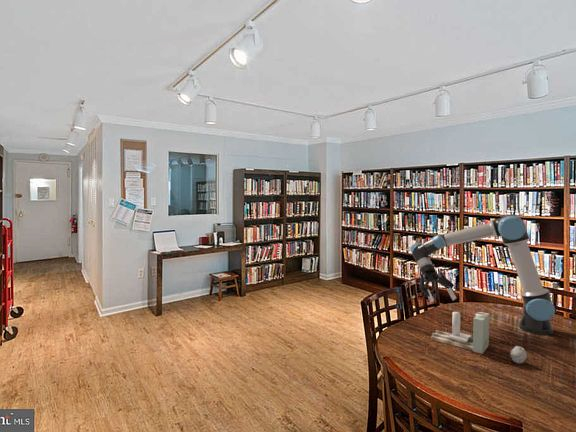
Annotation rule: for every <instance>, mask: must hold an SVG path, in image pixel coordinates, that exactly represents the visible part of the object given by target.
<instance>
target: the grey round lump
mask: <svg viewBox="0 0 576 432" xmlns="http://www.w3.org/2000/svg"><path fill="white" fill-rule="evenodd" d="M509 355H510V358H511V359H512V361H513V362H514V363H516V364H518V365H519V364H523V363H524V362H525V361H526V359H527V358H528V354H527V351H526V350H525V347H524V348H523V347H522V346H518V345H515V346H514V347H513V348H512V349H511V351H510V353H509Z"/></svg>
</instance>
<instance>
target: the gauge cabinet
mask: <svg viewBox="0 0 576 432" xmlns="http://www.w3.org/2000/svg"><path fill="white" fill-rule="evenodd" d="M472 320H473V322H472V325H473V326H472V337H473V350H472V352H473V353H477V354H484V353H485V351H486V350H487V348H488V347H489V345H490V344H489V343H490V313H487V312H483V311H479V312H476V313H475V316H474V317H473V319H472ZM485 340H486V345H485Z"/></svg>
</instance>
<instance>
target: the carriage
mask: <svg viewBox="0 0 576 432" xmlns="http://www.w3.org/2000/svg"><path fill="white" fill-rule="evenodd" d="M451 313H452V316H451V317H452V319H451V321H452V322H451V323H452V327H451V329H452V332H451V333H450V334H451V335H450V336H449V338H451V339H455V340H459V341H463V342H467V341H469V342H473V336H472V335H471V334H467V333H463V332H461V312H460V311H452V312H451Z"/></svg>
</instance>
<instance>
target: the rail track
mask: <svg viewBox="0 0 576 432" xmlns="http://www.w3.org/2000/svg"><path fill="white" fill-rule="evenodd" d="M451 334H452V333H449V332H445V331H442V330H437V329H436V330H435V332H432V335H431V336H430V340H431V341H435V342H440V343H443V344H446V345H450V346H454V347H458V348H462V349H465V350H469V351H473V342H469V341H467V342H463V341H459V340H455V339H451V338H449V336H450V335H451Z"/></svg>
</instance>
